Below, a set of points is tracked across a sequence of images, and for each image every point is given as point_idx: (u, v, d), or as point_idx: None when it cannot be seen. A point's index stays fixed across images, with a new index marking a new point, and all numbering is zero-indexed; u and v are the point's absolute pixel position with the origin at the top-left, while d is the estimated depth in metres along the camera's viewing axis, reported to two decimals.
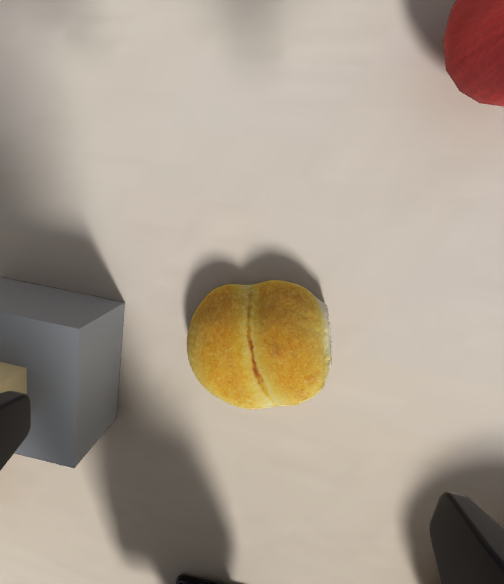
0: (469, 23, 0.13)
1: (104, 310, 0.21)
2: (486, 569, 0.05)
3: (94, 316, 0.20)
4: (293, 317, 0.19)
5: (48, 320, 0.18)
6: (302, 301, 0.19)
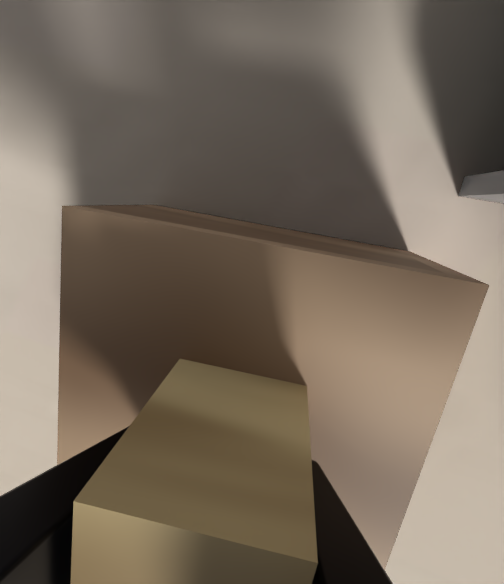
0: None
1: None
2: None
3: None
4: None
5: None
6: None
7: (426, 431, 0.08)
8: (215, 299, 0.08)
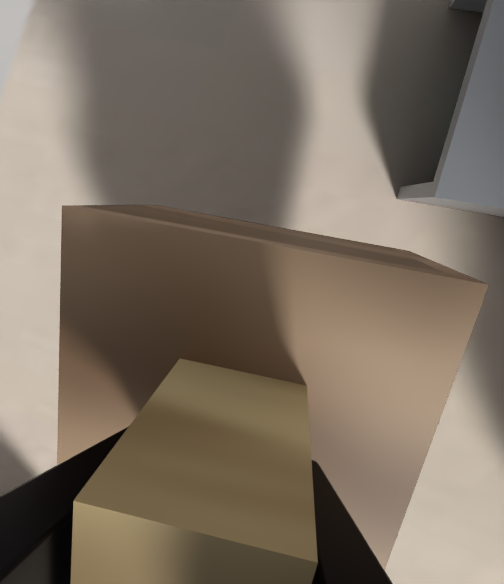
0: None
1: None
2: None
3: None
4: None
5: None
6: None
7: (426, 431, 0.08)
8: (215, 299, 0.08)
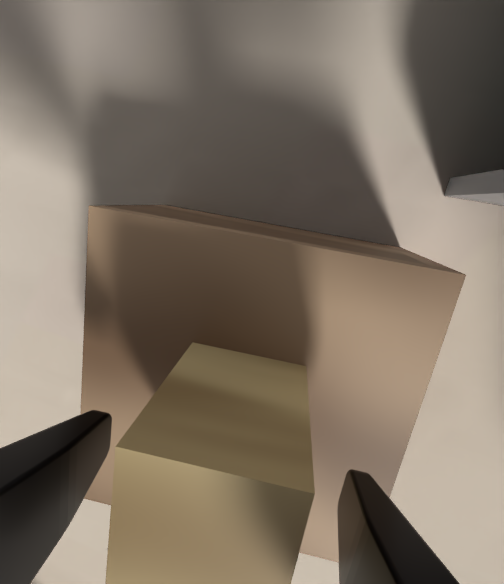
0: None
1: None
2: (364, 539, 0.05)
3: None
4: None
5: None
6: None
7: (412, 406, 0.09)
8: (224, 288, 0.09)
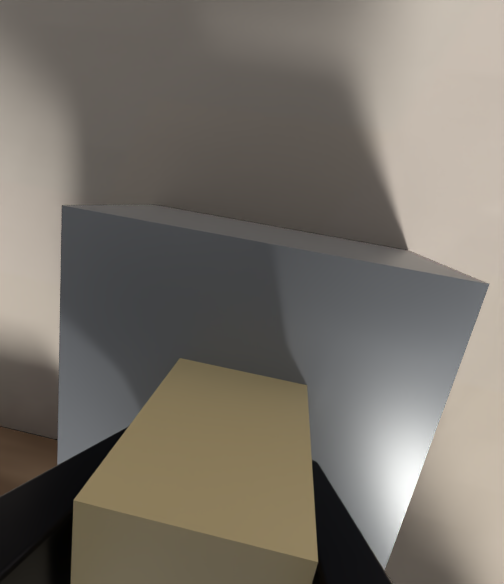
0: None
1: (418, 257, 0.10)
2: None
3: (435, 264, 0.09)
4: None
5: (387, 264, 0.07)
6: None
7: None
8: None
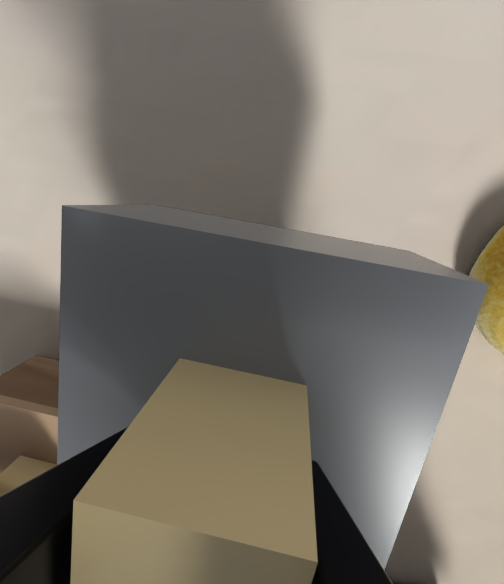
0: None
1: (418, 258, 0.10)
2: None
3: (435, 265, 0.09)
4: None
5: (387, 265, 0.07)
6: None
7: None
8: (31, 433, 0.18)
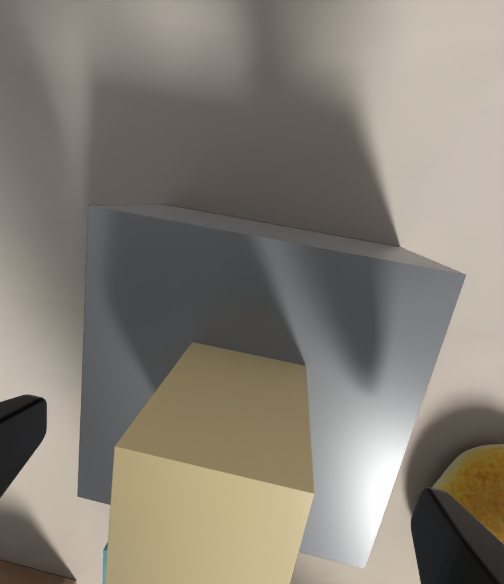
0: None
1: (408, 253, 0.11)
2: (461, 563, 0.05)
3: (422, 259, 0.10)
4: None
5: (377, 258, 0.08)
6: None
7: None
8: None
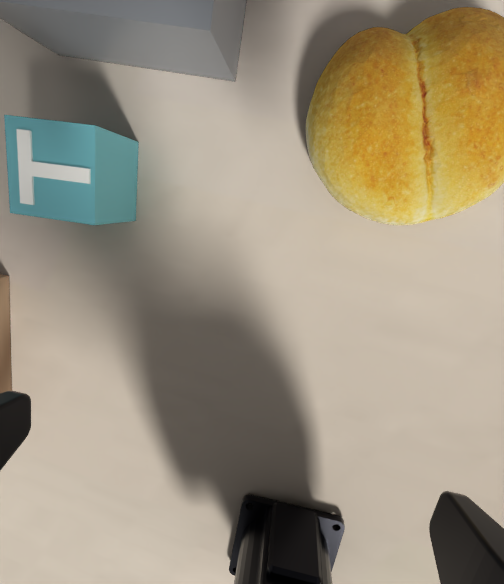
0: None
1: None
2: (486, 569, 0.05)
3: None
4: (497, 33, 0.12)
5: None
6: (502, 19, 0.13)
7: None
8: None
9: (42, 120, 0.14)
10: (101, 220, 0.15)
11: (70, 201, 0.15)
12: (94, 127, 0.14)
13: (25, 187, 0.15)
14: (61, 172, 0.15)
